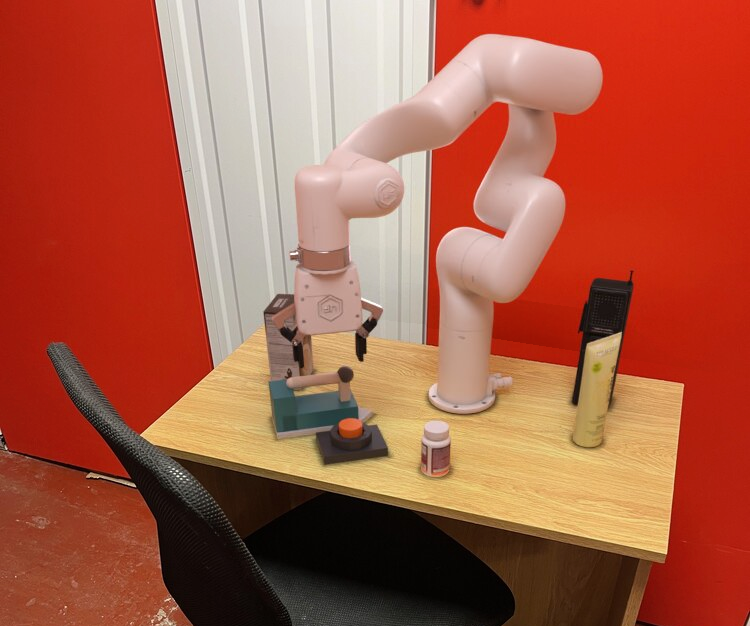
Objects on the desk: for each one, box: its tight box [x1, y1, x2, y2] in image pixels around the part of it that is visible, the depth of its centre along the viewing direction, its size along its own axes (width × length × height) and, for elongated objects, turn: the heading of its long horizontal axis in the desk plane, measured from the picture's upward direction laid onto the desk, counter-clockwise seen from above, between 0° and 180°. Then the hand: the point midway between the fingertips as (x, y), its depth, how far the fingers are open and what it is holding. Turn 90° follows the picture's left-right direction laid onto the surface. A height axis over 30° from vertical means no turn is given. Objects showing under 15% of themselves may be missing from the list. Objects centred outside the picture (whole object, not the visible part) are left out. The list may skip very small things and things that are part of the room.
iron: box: [268, 365, 374, 440], centre depth 138 cm, size 18×8×10 cm, turn 103°
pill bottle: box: [420, 419, 452, 478], centre depth 126 cm, size 5×5×8 cm
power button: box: [339, 418, 363, 438], centre depth 132 cm, size 4×4×2 cm
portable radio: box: [571, 269, 635, 410], centre depth 139 cm, size 8×6×25 cm
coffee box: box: [262, 293, 314, 391], centre depth 150 cm, size 9×6×16 cm
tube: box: [572, 332, 622, 448], centre depth 129 cm, size 6×5×20 cm
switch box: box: [315, 422, 389, 466], centre depth 133 cm, size 11×8×4 cm
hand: (330, 361), depth 125 cm, fingers open, 9 cm apart
